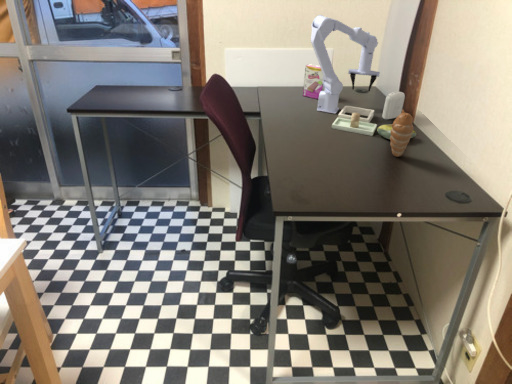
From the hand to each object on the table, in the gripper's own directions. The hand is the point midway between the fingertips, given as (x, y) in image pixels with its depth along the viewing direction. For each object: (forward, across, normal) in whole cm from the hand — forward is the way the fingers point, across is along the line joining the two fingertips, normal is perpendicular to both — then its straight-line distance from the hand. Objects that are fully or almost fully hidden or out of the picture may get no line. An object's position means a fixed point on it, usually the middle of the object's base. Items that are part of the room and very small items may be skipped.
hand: (361, 89), depth 201 cm
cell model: (+10, +17, -33) cm, 38 cm away
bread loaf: (+9, -1, -28) cm, 30 cm away
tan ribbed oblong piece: (+10, +16, -52) cm, 56 cm away
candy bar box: (+10, -24, +10) cm, 27 cm away
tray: (+9, -1, -28) cm, 30 cm away
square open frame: (+9, -1, -15) cm, 18 cm away
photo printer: (+10, +16, -8) cm, 20 cm away
